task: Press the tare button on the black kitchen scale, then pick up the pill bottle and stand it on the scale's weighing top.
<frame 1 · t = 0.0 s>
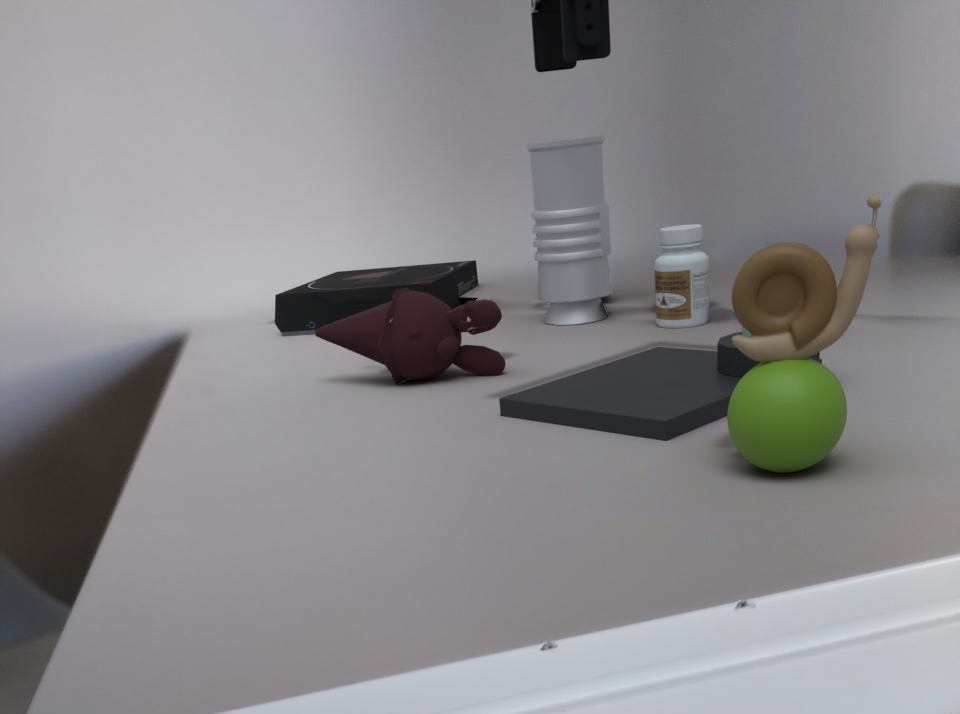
hand: (570, 65, 76), 20 cm above the table, tool pointing down, fingers open, 9 cm apart
snail figurine: (795, 473, 50), on the table
silver ribbed cylinder: (576, 320, 96), on the table
tare button: (768, 329, 64), point 3 cm above the table, slide at 0.1 cm
scale: (661, 397, 65), on the table
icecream: (414, 383, 78), on the table
pill bottle: (682, 327, 87), on the table
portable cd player: (383, 318, 110), on the table
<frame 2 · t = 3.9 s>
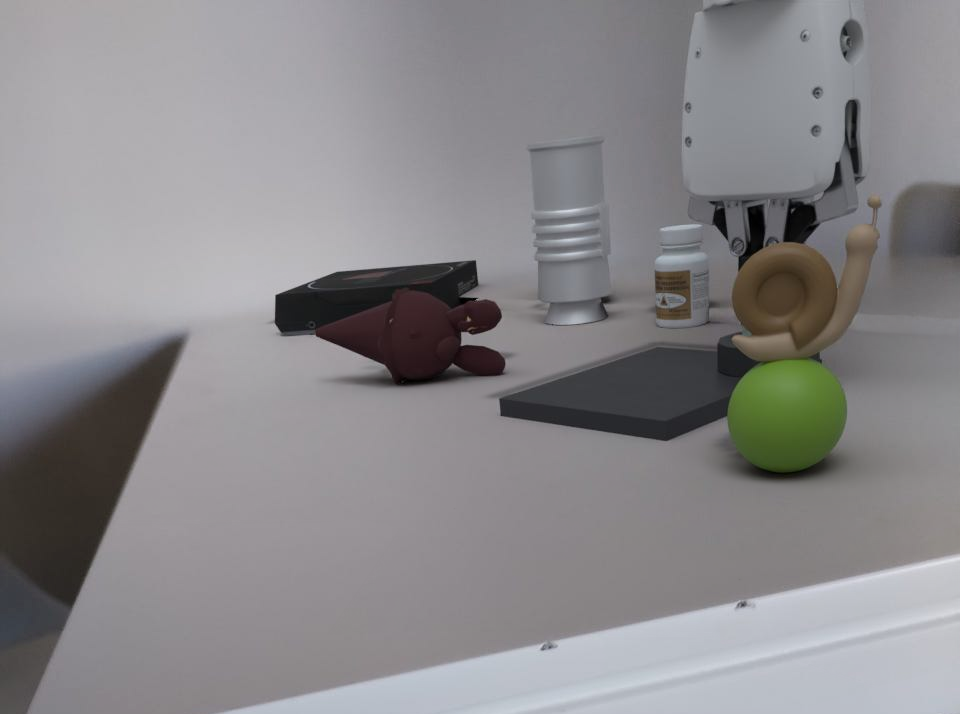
hand: (765, 321, 63), 4 cm above the table, tool pointing down, fingers closed
tare button: (768, 336, 64), point 3 cm above the table, slide at -0.3 cm, touching gripper
everything else where it was.
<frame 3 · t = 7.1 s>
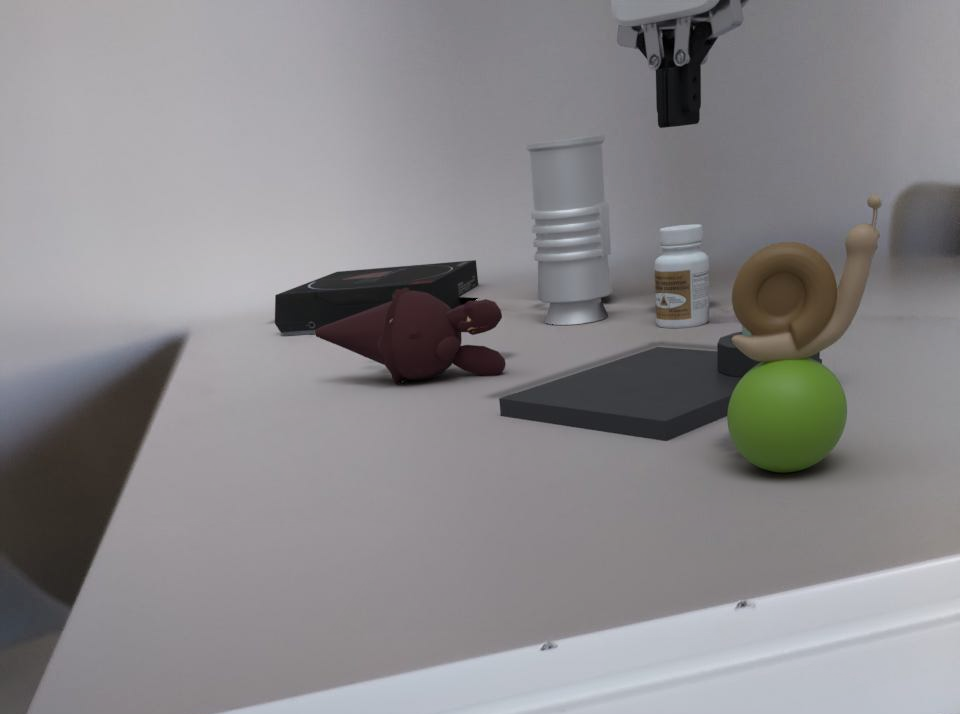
hand: (678, 125, 80), 15 cm above the table, tool pointing down, fingers closed
tare button: (768, 329, 64), point 3 cm above the table, slide at 0.1 cm
everything else where it was.
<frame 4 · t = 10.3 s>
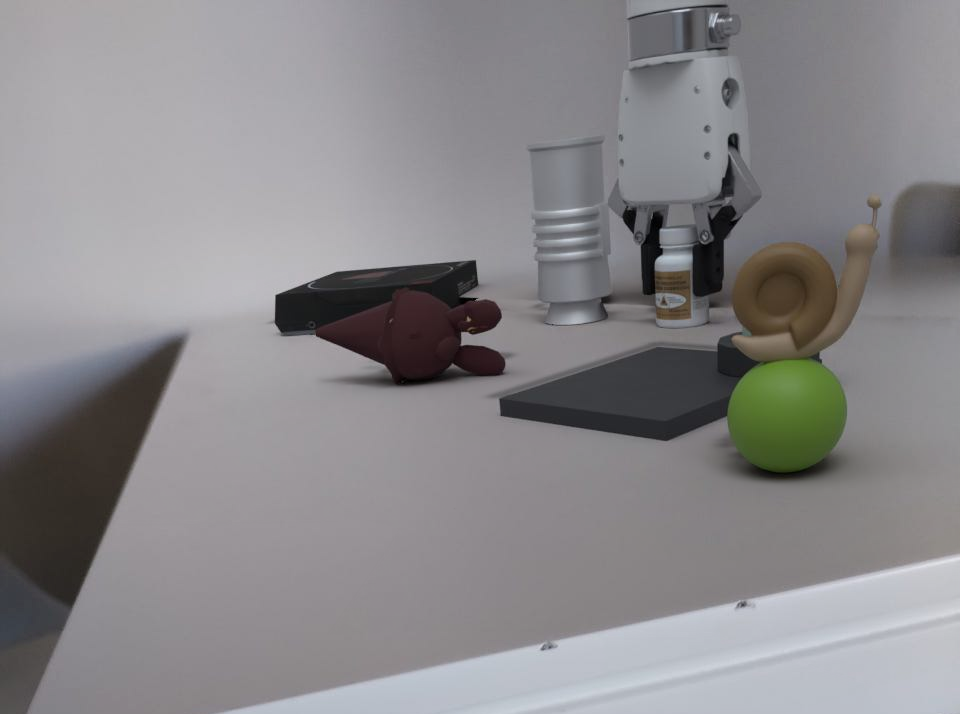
hand: (682, 290, 86), 3 cm above the table, tool pointing down, fingers closed on pill bottle, 4 cm apart
pill bottle: (682, 327, 87), on the table, touching gripper
everything else where it was.
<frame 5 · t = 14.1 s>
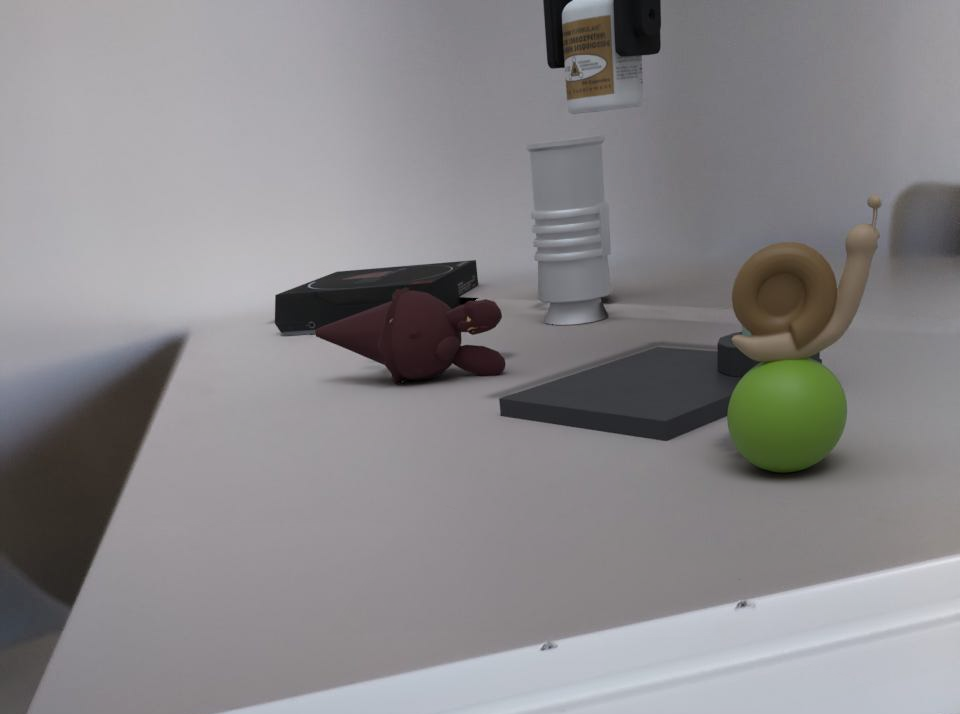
hand: (603, 57, 59), 19 cm above the table, tool pointing down, fingers closed on pill bottle, 4 cm apart
pill bottle: (605, 114, 60), point 16 cm above the table, touching gripper
everything else where it was.
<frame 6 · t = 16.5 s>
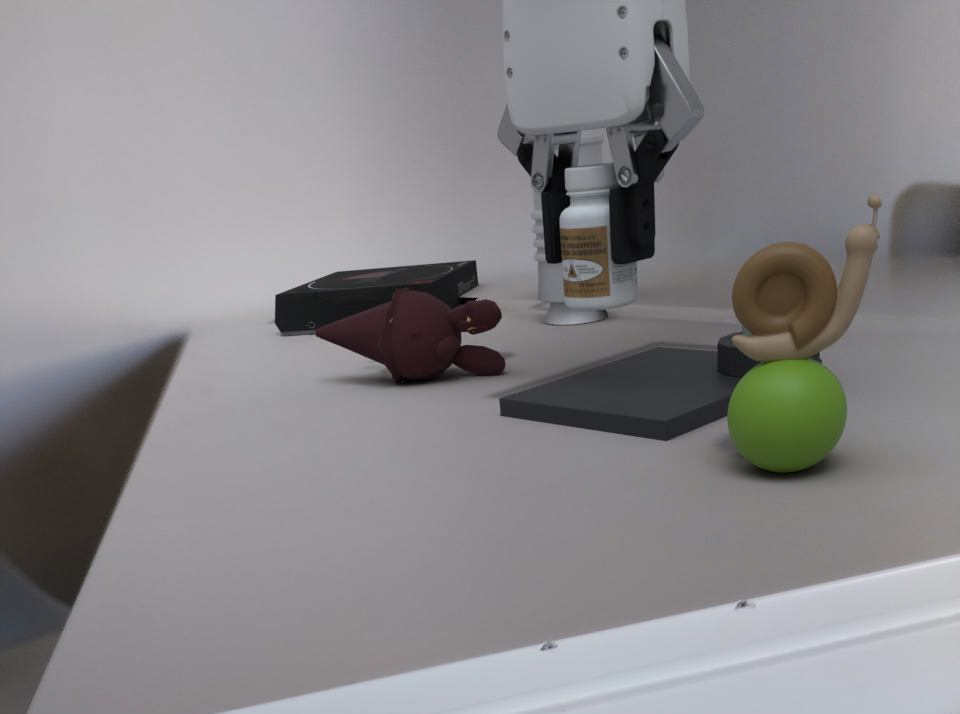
hand: (599, 257, 61), 9 cm above the table, tool pointing down, fingers closed on pill bottle, 4 cm apart
pill bottle: (601, 308, 62), point 6 cm above the table, touching gripper
everything else where it was.
when the fingers open (4 cm above the table, at t = 18.2 s): pill bottle stays where it is, resting on scale.
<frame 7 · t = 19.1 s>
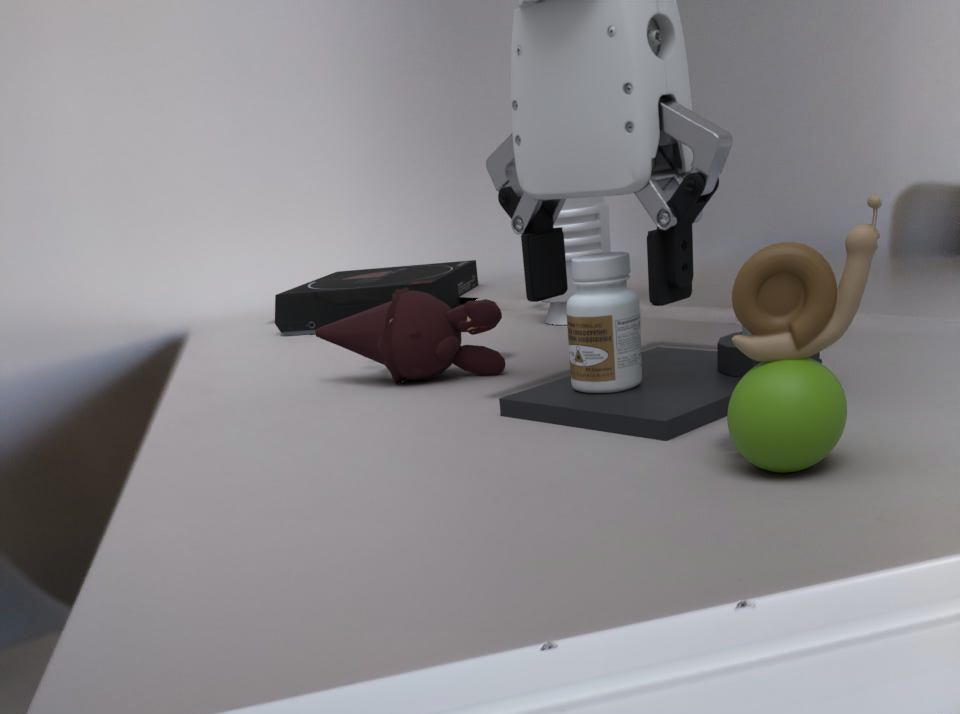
hand: (606, 299, 62), 6 cm above the table, tool pointing down, fingers open, 9 cm apart
pill bottle: (606, 389, 65), point 1 cm above the table, touching scale
everything else where it was.
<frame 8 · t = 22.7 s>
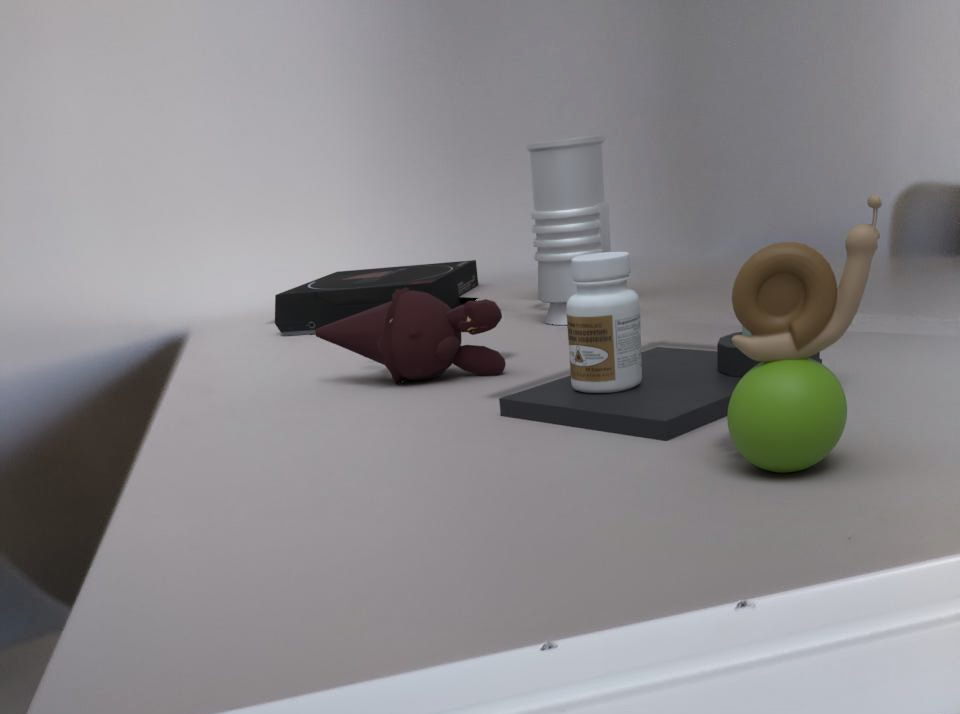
nothing on the table moved.
at the end: tare button pushed in 1.1 cm at the most during the clip, back to where it started at the end; pill bottle inside the target area on the scale (3.5 cm from its centre), point 1.0 cm above the scale's base; pill bottle tilted 0° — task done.
